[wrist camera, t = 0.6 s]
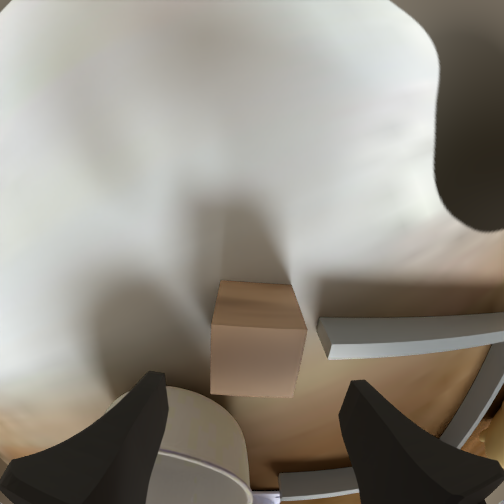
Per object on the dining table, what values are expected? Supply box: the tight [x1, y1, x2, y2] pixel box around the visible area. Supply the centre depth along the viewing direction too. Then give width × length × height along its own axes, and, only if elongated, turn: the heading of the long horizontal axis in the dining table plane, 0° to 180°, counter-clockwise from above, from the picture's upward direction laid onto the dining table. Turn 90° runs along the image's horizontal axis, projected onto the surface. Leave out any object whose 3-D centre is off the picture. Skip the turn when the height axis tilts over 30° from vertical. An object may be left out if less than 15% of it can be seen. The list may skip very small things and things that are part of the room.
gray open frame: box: [278, 312, 504, 501], centre depth 19 cm, size 19×19×3 cm
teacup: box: [105, 386, 253, 504], centre depth 16 cm, size 14×11×8 cm
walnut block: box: [210, 280, 307, 398], centre depth 15 cm, size 4×4×5 cm
